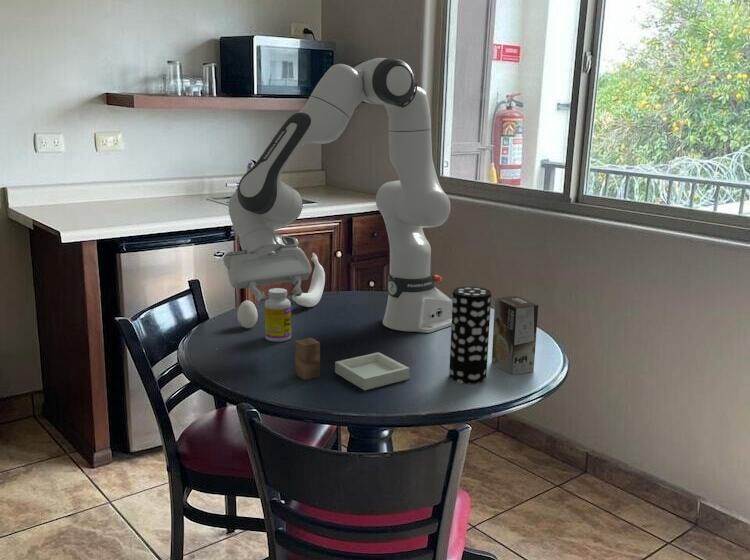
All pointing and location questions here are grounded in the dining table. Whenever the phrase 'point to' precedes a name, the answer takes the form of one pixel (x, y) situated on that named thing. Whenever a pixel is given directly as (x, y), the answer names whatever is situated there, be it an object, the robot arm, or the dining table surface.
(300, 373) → the block
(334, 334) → the dining table surface
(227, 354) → the dining table surface
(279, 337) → the supplement bottle
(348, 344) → the dining table surface
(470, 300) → the spotted tube
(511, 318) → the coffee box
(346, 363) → the dish
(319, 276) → the banana
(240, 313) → the egg
